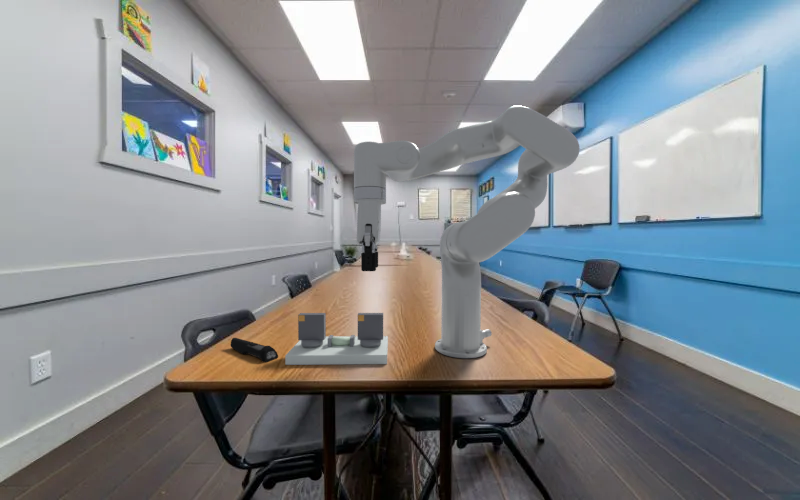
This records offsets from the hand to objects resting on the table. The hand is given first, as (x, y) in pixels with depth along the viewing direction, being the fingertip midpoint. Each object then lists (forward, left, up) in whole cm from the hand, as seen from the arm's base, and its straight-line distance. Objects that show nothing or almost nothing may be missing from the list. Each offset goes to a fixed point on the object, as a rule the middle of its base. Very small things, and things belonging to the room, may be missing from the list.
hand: (370, 269), depth 71 cm
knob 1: (+12, -8, -18) cm, 23 cm away
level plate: (+6, -4, -20) cm, 21 cm away
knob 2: (0, 0, -18) cm, 18 cm away
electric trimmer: (+23, -15, -21) cm, 35 cm away
